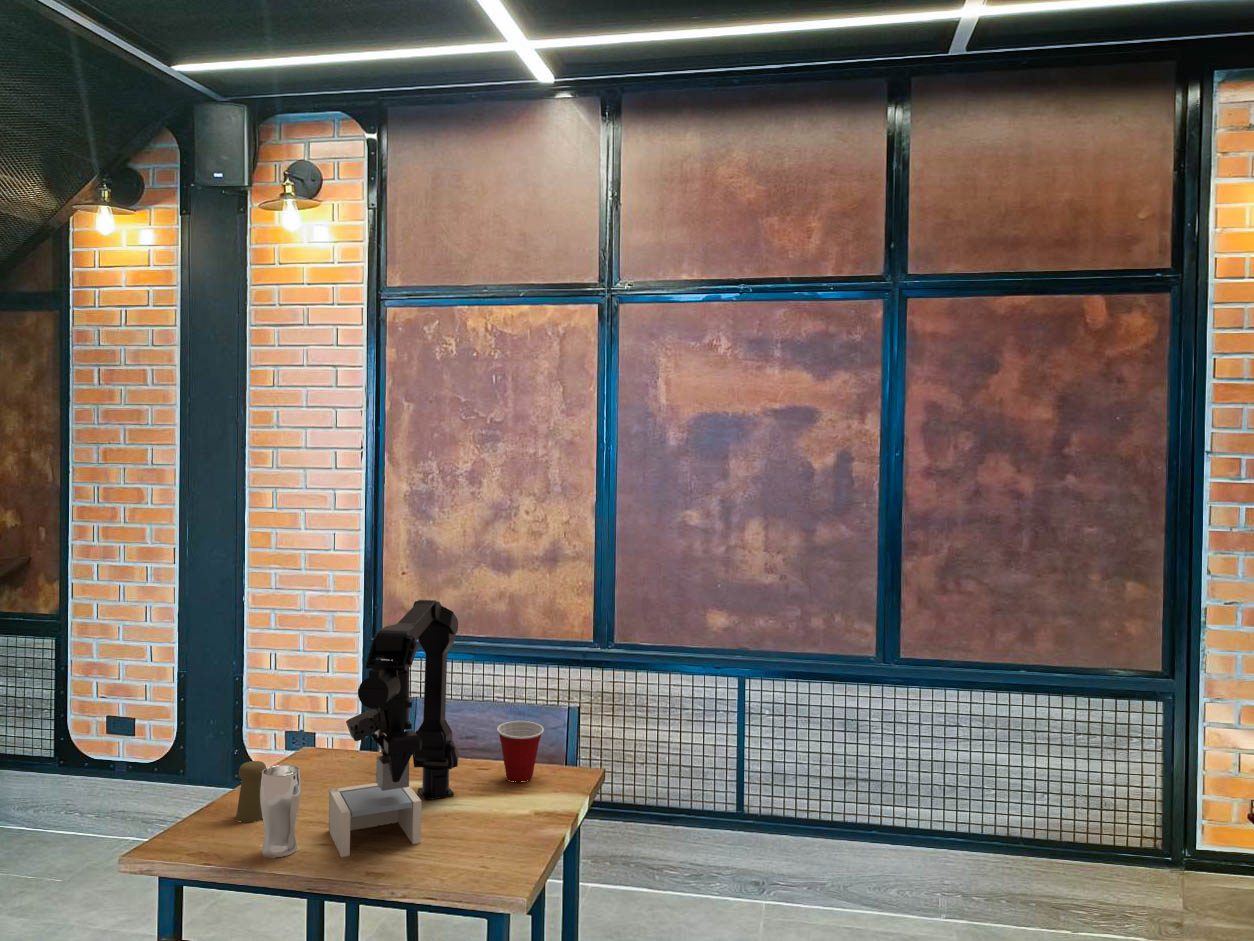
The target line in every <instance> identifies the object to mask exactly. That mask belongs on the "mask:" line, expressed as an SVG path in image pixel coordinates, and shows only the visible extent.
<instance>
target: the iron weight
mask: <svg viewBox="0 0 1254 941" xmlns="http://www.w3.org/2000/svg"><path fill="white" fill-rule="evenodd" d="M375 766H376V767H375V768H376V769H375V770H376V774H375V775H376V776H375V779H376V780H375V783H377V784H378V786H379V787H380V788H381V790H382V791H385V790H391V789H398V788H405V787H409V786H410V761H409V762H408V764H407V766H406V768H405V770H404V772H403V774H402V776H401V778H400V781H399V782H393V779H392V773H391V766H390V759H389V755H385V756H382V755H378V756H376V764H375Z"/></svg>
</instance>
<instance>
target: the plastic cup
mask: <svg viewBox="0 0 1254 941" xmlns="http://www.w3.org/2000/svg"><path fill="white" fill-rule="evenodd" d="M544 730H545V728H544V726H543V725H541V724H539V723H537V722H533V721H529V720H527V721H526V720H514V721H513V720H512V721H508V722H503V723H501V724H499V725H497V728H496V731H497V733H498V736H499V738H500V739H499V740H500V744H501V751H502V759H503V760H502V761H503V765H504V771H505V776H506V779H508V780H510V781H514V782H515V781H516V782H521V781H527V780H530V779H531V778H532V779H533V776H534V769H535V765H536V762H537V756H538V750H539V745H540V741H541V738H542V735H543V733H544ZM532 779H531V780H532ZM508 780H507V781H508ZM531 780H530V781H531ZM510 781H509V782H510ZM514 782H513V783H514Z"/></svg>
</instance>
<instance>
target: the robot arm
mask: <svg viewBox="0 0 1254 941" xmlns="http://www.w3.org/2000/svg"><path fill="white" fill-rule="evenodd" d="M458 630H459V619H458V617H457V615H456V614H455V613H454V611H453V610H452V609H448V608H447V607H446V606H443V605H442V604H441V603H440V601H437V600H436V599H433V600H432V599H419V600H415V601H414V603H413V606H412V607H411V609H410V610H408V611H407V612H406V614H405V615H404V616H403V617H402V618H401V619H400V620H399V621H398V622H397V623H395V624H390V625H387V626H384V627H382V628H380V629H379V630H378V631H377V632H376V634H375V635H374V636H373V639H372V642H371V645H370V646H371V647H370V649H369V653H368V655H367V656H368V657H367V660H366V664H365V670H366V669H367V670H369V671H368V677H367V678H364V679H363V680H362V681H361V683H360V685H359V686H358V690H357V697H358V700H359V702H360V704H362V705H363V706H364V707H366V708H368V709H369V710H366V711H364V712H361V713H359V714H357V715H355V716H353V717H350V718H349V719H347V720H346V721H345V723H346V725H347V729H348V731H349V734H350V737H351V738H352V739H353V741H354V742H359V741H362V740H363V739H364V738H366V737H367V736H370V737H371V738H372V740H373V741H374V742H375V743H377V744H378V746H379V749H380V752H381V756H385V755H389V759H390V766H391V773H392V779H393V782H399V781H400V778H401V776H402V774H403V772H404V770H405V768H406V766H407V764H408V762H409V763H410V759H411V758H412V762H413V768H422V781H421V782H422V784H421V785H422V787H420V788H417V792H418V791H419V792H418V793H419V795H420V794H421V795H422V796H421V795H420V796H421V797H422V798H423V799H424V800H425V801H426V799H428V800H432V798H434V799H440V798H445V797H446V796H447V797H451V795H453V796H454V795H455V792H454V791H453V790H452V789H451V788H450V770H452V769H453V768H454V769H455V768H457V767H459V751H458V749H457V746H456V744H455V742H454V740H453V730H452V729H451V727H450V725H449V723H448V721H447V720H446V705H447V704H446V703H447V702H446V701H447V700H446V699H447V674H448V673H447V672H448V653H449V650H450V649H451V647H452V646H453V644H454V643H455V642H456V634H457V633H458ZM419 645H420V646H421V648H422V650H423V652H424V653H425V654H424V655H425V659H424V661H425V662H424V686H423V687H424V690H423V693H424V694H423V718H422V723H421V725H420V726H419V728H418V729H417V730H416V731H415V732H414V731H413V730H412V722H411V721H410V708H413V701H411V700H410V676H411V675H410V673H411V672H410V668H411V667H412V666H413V662H414V659H415V656H416V654H417V650H418V647H419ZM439 797H440V798H439Z"/></svg>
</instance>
